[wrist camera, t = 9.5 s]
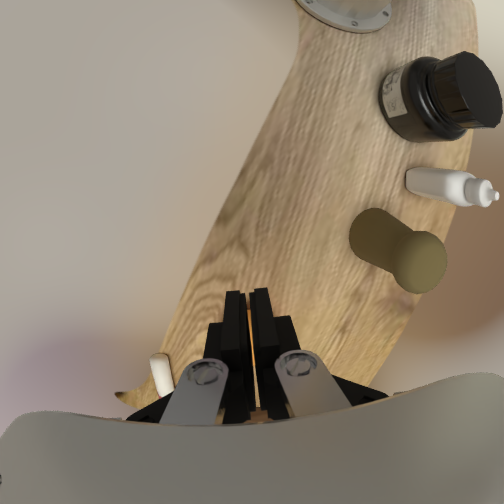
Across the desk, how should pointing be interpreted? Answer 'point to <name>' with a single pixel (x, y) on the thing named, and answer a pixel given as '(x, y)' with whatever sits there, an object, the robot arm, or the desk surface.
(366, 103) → the desk surface
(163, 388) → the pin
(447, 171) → the eye dropper bottle
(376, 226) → the olive pawn
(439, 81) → the ink bottle
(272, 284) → the desk surface
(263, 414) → the rail
